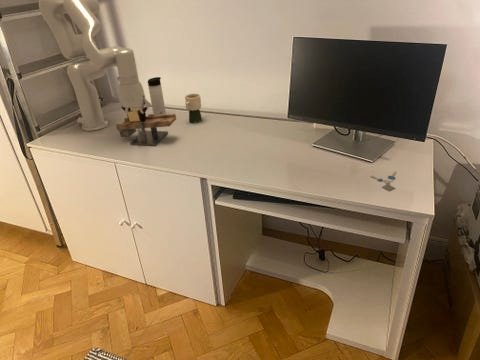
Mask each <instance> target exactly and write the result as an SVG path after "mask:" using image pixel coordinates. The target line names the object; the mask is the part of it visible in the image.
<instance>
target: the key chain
mask: <svg viewBox="0 0 480 360" xmlns="http://www.w3.org/2000/svg"><path fill="white" fill-rule="evenodd" d="M396 173H397V171H394V172H393V174H391V175H388V177H387V179H385V180H384V179H383V178H381V177H380V178H379V177H377V176H373V175H370V177H371V178H373V179H375V180H376V181H378V182H381V183H382V182H383V184H384V186H381V187H380V188H382V189H383V190H385V191H387V192H392V191H394V190H396V189H397V188H396V187H394V186H392V185H391V183H392V182H393V181H394V180H396V177H395V175H396ZM389 179H390V180H389Z"/></svg>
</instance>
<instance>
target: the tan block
mask: <svg viewBox="0 0 480 360" xmlns="http://www.w3.org/2000/svg"><path fill="white" fill-rule="evenodd" d="M140 114H141V112H140V110H139V108H131V109H130V110H129V111H128V112H127V113H126V116H127V115H128V117H127V118H129V121H130V123H138V122H141V116H140Z"/></svg>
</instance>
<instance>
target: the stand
mask: <svg viewBox="0 0 480 360" xmlns="http://www.w3.org/2000/svg"><path fill="white" fill-rule="evenodd" d="M148 116H154V114H153V113H152V114H151V113H150V114H148ZM137 125H138V133H139V134H138V135H137V136H136V137H135V138H134V139H133V140H132V141H131V142H130V143H129V145H130V146H139V147H157V146H158V145H159V144H160V142H161V143H162V141H163V140H164V139H165V137H167V135H169V131H167V130H166V131H164V130H163V131H162V130H158V127H153V128H150V130H146V128H145V127H144V123H138V124H137Z"/></svg>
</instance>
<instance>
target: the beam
mask: <svg viewBox="0 0 480 360" xmlns="http://www.w3.org/2000/svg"><path fill="white" fill-rule="evenodd" d="M123 120H124V121H123V122H122V123H117V124H115V127H116V130H117V131H118V132H119V135H120V139H123V138H125V139H126V138H130V137H132V136H133V134H135V133H136V132H137V129H138V125H137V124H138V123H144V127H145V129H151V128H153V127H157V128H163V127H165V128H167V127H170V126H171V125H172V124H173V123H174V122H175V121H177V116H176V113H173V114H166V115H156V116H147V115H146V121H144V122H138V123H130V122H129V120H128V117H125V118H124V119H123Z"/></svg>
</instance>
